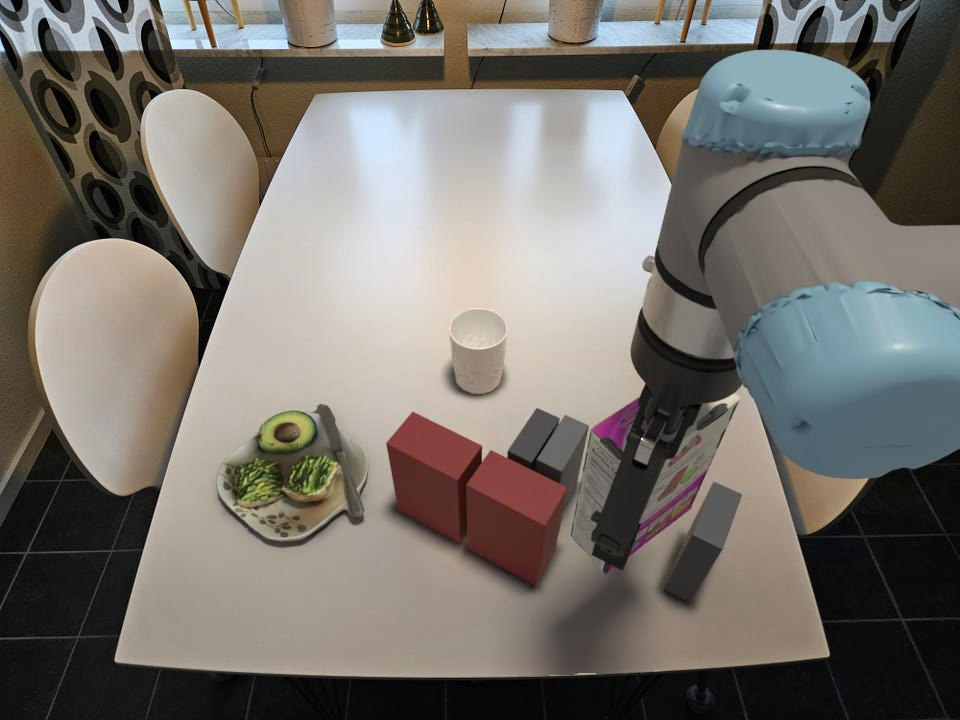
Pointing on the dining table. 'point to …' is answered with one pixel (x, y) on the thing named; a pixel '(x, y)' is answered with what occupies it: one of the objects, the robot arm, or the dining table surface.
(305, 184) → the dining table surface
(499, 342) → the white cup
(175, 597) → the dining table surface
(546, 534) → the maroon boxes
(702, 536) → the grey boxes
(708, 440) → the candy bar box
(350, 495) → the avocado toast plate
